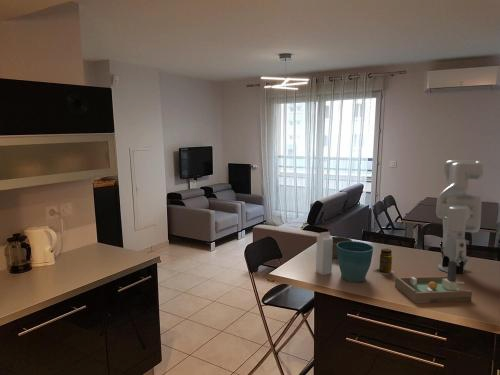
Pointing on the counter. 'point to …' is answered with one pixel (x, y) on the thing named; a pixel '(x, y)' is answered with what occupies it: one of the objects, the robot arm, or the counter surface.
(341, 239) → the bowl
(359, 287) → the counter surface
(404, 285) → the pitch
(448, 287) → the striker
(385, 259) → the condiment
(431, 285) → the ball
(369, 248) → the flower pot
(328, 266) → the milk
